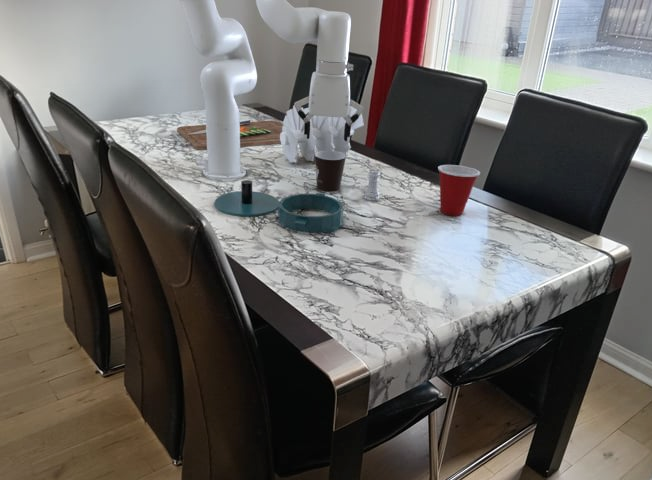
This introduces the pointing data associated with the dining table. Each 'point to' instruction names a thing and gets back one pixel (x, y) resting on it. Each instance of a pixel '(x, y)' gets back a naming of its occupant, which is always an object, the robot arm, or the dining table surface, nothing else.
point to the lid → (246, 202)
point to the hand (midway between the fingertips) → (326, 138)
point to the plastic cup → (455, 187)
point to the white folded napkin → (315, 134)
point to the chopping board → (248, 134)
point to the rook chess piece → (372, 186)
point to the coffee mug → (329, 170)
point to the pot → (310, 222)
